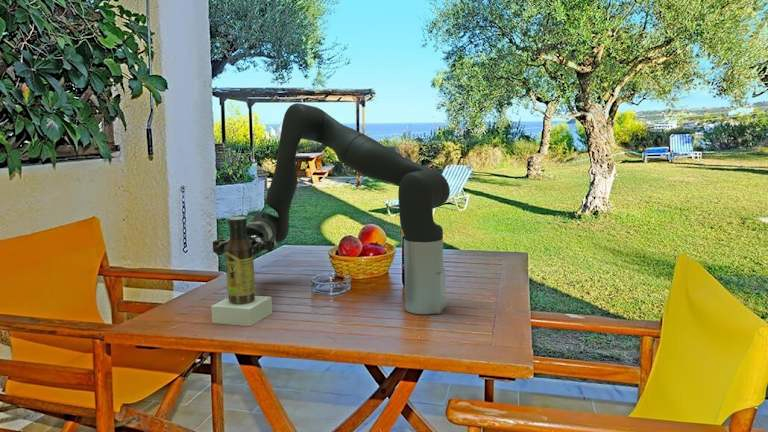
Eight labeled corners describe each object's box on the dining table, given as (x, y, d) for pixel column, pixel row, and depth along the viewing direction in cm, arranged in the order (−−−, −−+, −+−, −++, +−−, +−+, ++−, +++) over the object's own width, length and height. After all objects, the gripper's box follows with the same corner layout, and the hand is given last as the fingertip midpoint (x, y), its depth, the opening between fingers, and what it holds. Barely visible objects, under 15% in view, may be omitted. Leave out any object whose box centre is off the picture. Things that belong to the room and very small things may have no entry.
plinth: (272, 312, 141) (271, 296, 141) (250, 326, 132) (249, 309, 131) (235, 310, 144) (234, 294, 144) (212, 322, 135) (211, 306, 134)
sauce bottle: (226, 299, 139) (221, 216, 136) (252, 295, 142) (248, 214, 139) (230, 306, 133) (225, 220, 130) (258, 302, 136) (253, 218, 133)
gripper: (226, 223, 149) (204, 235, 133) (281, 222, 149) (266, 234, 133) (228, 252, 151) (206, 267, 134) (283, 251, 150) (268, 266, 134)
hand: (236, 250), depth 134 cm, fingers open, 8 cm apart
